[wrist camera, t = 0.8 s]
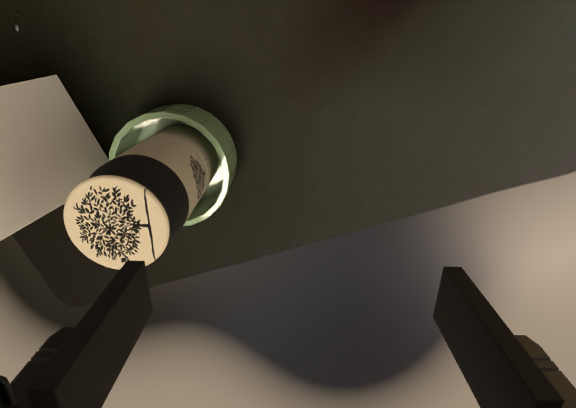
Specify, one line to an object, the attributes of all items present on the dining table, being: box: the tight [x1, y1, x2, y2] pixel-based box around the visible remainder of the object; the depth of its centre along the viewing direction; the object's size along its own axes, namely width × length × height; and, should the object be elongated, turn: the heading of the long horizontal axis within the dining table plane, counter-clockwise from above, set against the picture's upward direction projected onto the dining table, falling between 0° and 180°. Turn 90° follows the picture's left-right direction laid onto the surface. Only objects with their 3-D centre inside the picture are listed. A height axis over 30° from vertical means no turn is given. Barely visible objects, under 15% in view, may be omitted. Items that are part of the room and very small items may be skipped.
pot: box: [109, 104, 237, 226], centre depth 40 cm, size 12×12×6 cm
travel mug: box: [64, 124, 218, 269], centre depth 35 cm, size 8×8×18 cm
